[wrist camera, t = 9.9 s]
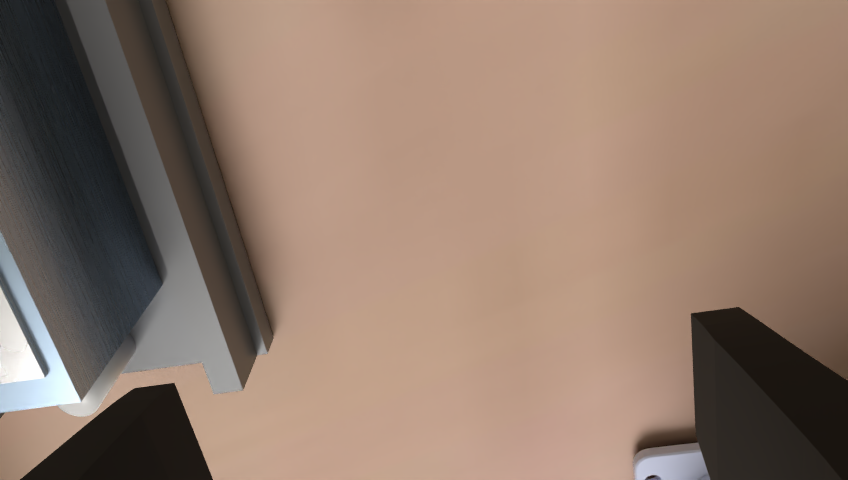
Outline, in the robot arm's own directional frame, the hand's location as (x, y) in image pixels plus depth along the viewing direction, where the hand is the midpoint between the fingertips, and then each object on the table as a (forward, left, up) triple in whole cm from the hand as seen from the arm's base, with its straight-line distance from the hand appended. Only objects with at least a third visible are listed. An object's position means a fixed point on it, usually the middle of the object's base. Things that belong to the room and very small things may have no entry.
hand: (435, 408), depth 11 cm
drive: (+2, +10, -9) cm, 14 cm away
